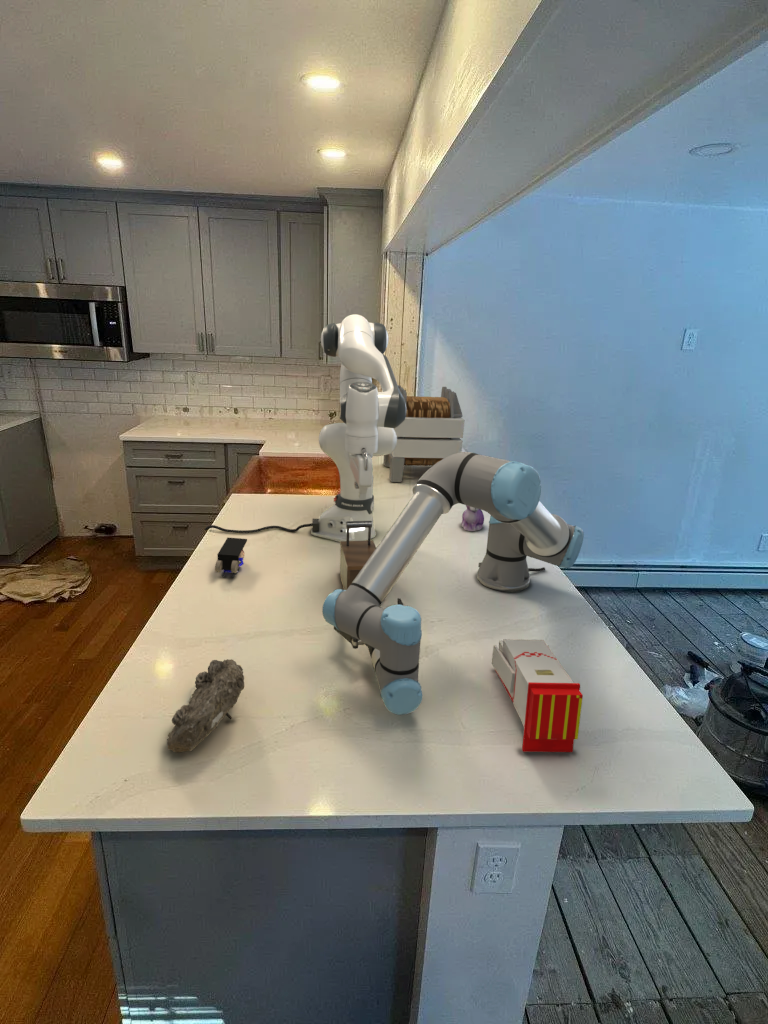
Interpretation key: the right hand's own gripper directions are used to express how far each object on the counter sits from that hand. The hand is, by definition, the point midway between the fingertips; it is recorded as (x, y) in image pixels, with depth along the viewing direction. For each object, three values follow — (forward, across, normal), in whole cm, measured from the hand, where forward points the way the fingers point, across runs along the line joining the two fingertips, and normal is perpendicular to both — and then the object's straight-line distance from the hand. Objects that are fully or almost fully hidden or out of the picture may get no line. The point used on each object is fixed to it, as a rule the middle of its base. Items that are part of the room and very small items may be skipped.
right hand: (371, 604), depth 139 cm
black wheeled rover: (+36, -35, -6) cm, 51 cm away
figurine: (+64, +49, -7) cm, 81 cm away
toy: (-33, +27, -6) cm, 43 cm away
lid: (+22, +1, +3) cm, 22 cm away
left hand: (+27, +1, +20) cm, 34 cm away
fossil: (-28, -35, -6) cm, 46 cm away
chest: (+22, +1, -6) cm, 23 cm away
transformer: (+136, +47, -7) cm, 144 cm away
